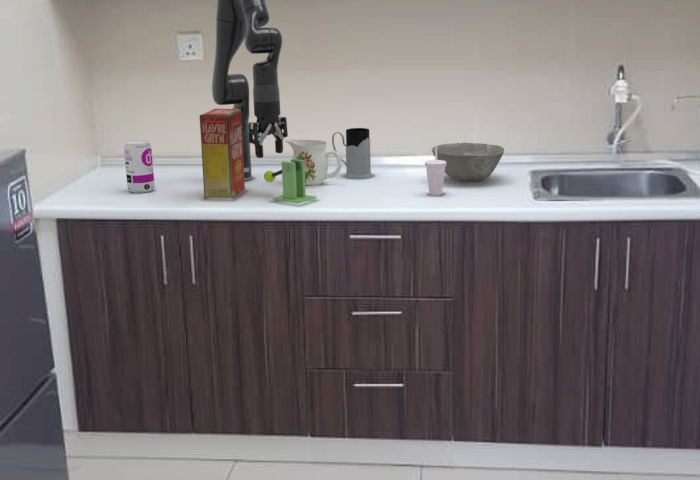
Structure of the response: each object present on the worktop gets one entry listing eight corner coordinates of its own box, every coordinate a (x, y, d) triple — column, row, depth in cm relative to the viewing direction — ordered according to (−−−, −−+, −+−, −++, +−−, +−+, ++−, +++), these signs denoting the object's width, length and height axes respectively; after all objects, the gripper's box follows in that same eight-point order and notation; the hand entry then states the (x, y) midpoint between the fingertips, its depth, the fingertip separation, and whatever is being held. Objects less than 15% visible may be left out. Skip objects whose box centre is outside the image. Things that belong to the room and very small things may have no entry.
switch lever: (263, 184, 289) (260, 173, 289) (271, 182, 292) (267, 171, 292) (294, 172, 281) (290, 161, 281) (302, 170, 284) (298, 159, 283)
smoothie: (448, 192, 293) (449, 145, 289) (443, 197, 287) (443, 149, 283) (428, 191, 295) (428, 144, 291) (422, 195, 289) (422, 148, 285)
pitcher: (336, 190, 299) (334, 145, 295) (280, 187, 304) (278, 143, 300) (347, 182, 309) (345, 139, 305) (293, 180, 314) (291, 137, 310)
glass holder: (362, 179, 313) (361, 132, 308) (325, 175, 320) (324, 129, 315) (377, 174, 320) (376, 128, 315) (340, 170, 327) (339, 125, 322)
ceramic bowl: (486, 190, 294) (486, 157, 291) (418, 183, 306) (418, 151, 303) (516, 177, 312) (516, 145, 309) (451, 170, 324) (451, 140, 321)
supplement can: (160, 188, 306) (156, 140, 301) (144, 194, 298) (139, 145, 294) (139, 186, 309) (134, 139, 304) (122, 192, 302) (117, 143, 297)
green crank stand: (272, 201, 286) (270, 161, 282) (290, 196, 292) (288, 157, 288) (299, 205, 280) (297, 165, 277) (316, 200, 286) (315, 160, 283)
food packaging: (233, 200, 288) (228, 114, 281) (202, 199, 290) (196, 114, 282) (246, 190, 301) (242, 108, 293) (217, 189, 302) (211, 108, 295)
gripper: (273, 95, 290) (275, 150, 295) (239, 101, 279) (243, 158, 284) (292, 97, 286) (295, 152, 291) (259, 103, 275) (262, 160, 280)
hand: (269, 155), depth 287 cm, fingers open, 8 cm apart
